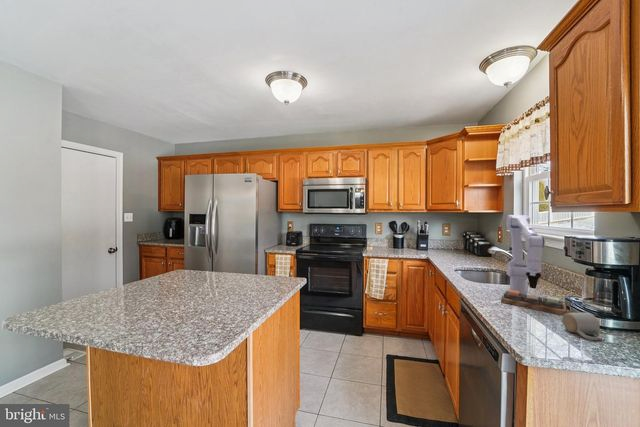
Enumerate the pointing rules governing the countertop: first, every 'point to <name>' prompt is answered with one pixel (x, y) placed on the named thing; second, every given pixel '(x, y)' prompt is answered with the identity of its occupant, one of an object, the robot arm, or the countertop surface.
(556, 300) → the sage button
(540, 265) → the robot arm
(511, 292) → the terracotta button
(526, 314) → the countertop surface
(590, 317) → the ceramic mug
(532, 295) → the cream button
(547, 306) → the button panel
